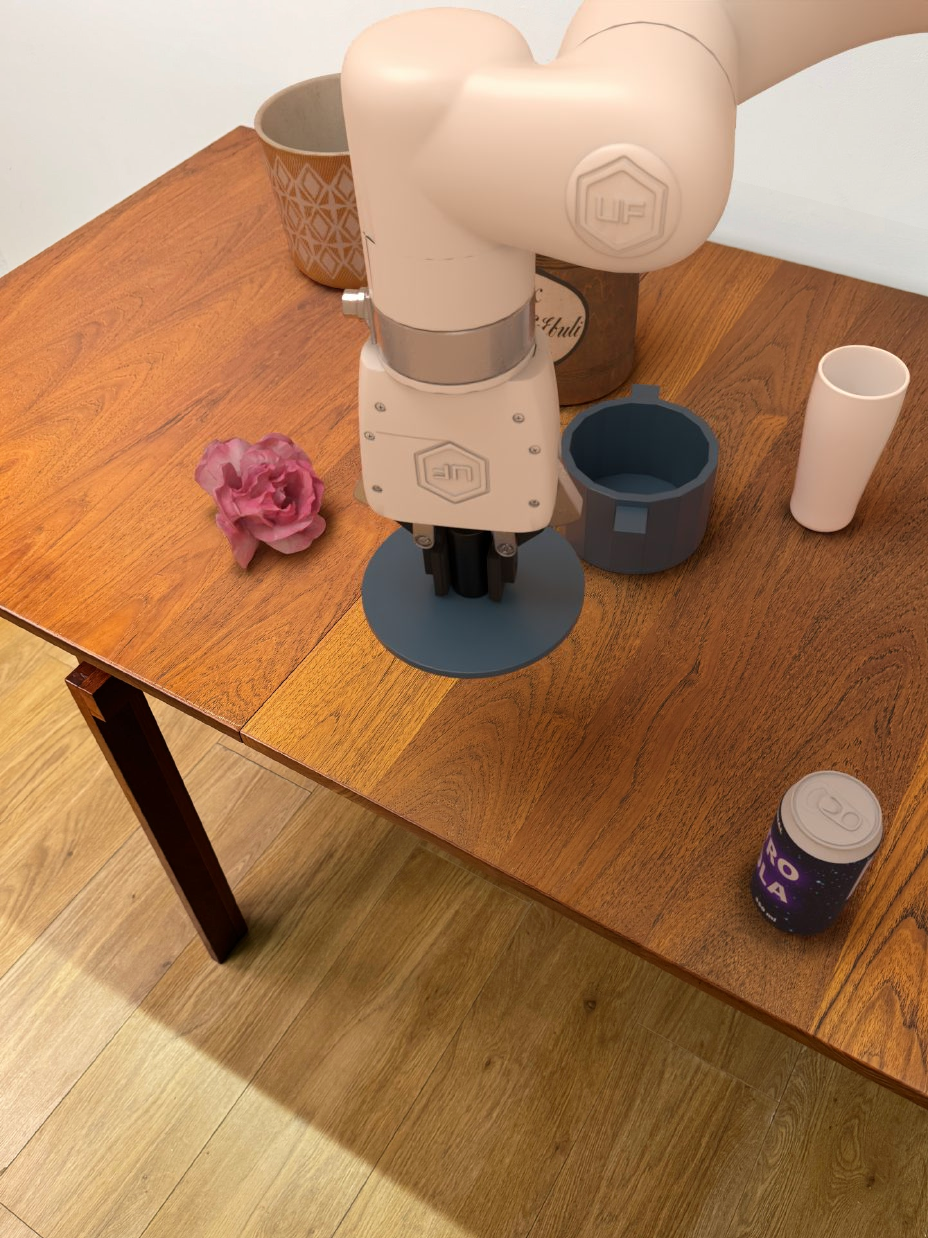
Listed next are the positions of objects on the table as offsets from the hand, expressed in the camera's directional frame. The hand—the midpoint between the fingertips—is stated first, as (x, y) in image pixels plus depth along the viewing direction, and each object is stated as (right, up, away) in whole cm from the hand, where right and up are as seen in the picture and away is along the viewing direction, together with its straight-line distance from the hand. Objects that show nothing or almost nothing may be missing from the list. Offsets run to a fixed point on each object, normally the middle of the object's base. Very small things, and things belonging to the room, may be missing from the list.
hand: (472, 579), depth 60 cm
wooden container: (+9, +24, +42) cm, 49 cm away
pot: (+14, +6, +27) cm, 31 cm away
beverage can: (+21, -21, +4) cm, 30 cm away
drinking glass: (+30, +7, +26) cm, 41 cm away
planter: (-12, +40, +57) cm, 71 cm away
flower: (-17, +6, +29) cm, 34 cm away
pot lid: (0, -1, +1) cm, 1 cm away
